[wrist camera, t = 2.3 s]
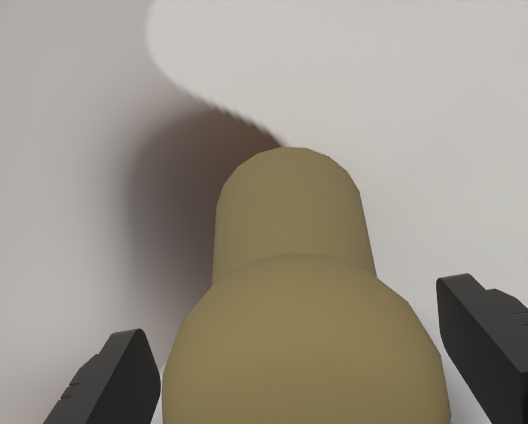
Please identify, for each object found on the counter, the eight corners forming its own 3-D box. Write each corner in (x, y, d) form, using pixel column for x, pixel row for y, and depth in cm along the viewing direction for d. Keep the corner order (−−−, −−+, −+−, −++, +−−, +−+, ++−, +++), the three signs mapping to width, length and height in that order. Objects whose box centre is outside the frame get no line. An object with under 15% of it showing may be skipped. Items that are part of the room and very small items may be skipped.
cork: (393, 225, 16) (597, 495, 6) (283, 310, 18) (289, 644, 7) (296, 113, 15) (336, 206, 5) (185, 214, 16) (25, 459, 6)
